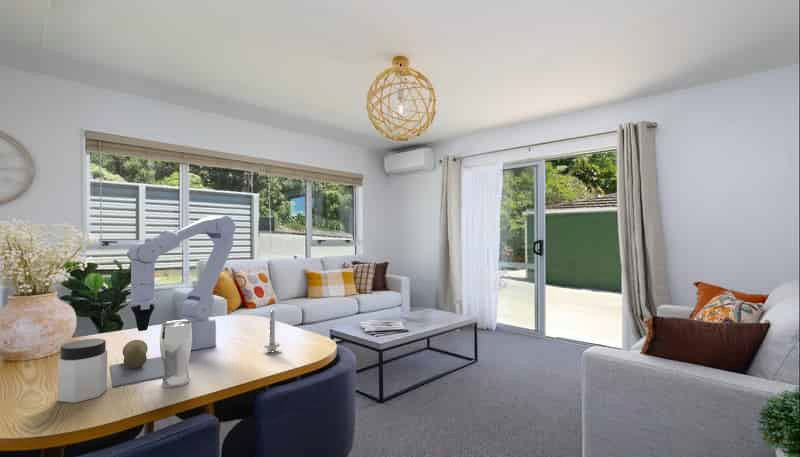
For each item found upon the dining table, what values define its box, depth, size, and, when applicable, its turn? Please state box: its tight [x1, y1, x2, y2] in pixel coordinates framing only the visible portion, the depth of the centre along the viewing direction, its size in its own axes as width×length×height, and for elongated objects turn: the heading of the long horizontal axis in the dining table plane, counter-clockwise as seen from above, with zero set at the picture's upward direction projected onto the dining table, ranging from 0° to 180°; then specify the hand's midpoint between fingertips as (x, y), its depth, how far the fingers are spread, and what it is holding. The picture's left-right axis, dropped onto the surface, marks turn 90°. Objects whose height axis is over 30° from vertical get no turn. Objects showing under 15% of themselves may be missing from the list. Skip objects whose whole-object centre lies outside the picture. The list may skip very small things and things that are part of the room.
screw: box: [263, 310, 281, 353], centre depth 122 cm, size 13×5×5 cm
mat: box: [109, 356, 164, 388], centre depth 105 cm, size 15×18×1 cm
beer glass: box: [159, 319, 192, 389], centre depth 96 cm, size 7×7×15 cm
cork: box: [122, 339, 148, 369], centre depth 108 cm, size 6×6×11 cm
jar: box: [57, 338, 108, 404], centre depth 89 cm, size 9×8×12 cm
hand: (142, 330), depth 112 cm, fingers closed
